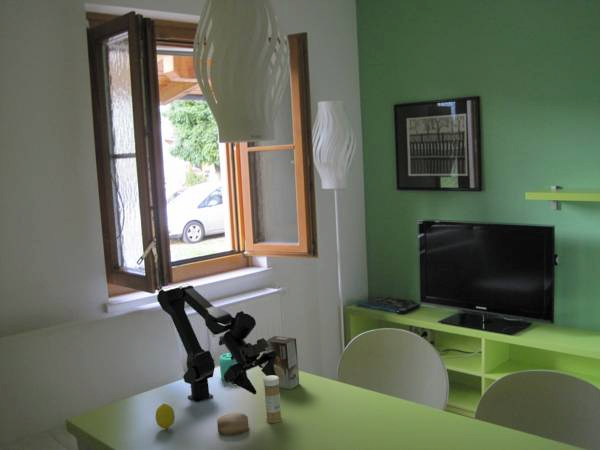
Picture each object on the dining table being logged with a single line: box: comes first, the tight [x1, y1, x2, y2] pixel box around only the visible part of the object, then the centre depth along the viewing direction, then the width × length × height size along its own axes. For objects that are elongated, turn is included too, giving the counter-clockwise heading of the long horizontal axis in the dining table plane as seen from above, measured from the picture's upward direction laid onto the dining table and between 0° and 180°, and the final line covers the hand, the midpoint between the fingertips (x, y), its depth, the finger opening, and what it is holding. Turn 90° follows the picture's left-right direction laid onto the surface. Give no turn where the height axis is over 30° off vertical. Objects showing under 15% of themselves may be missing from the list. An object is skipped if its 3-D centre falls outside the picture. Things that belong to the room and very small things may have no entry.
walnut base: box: [216, 412, 249, 437], centre depth 197 cm, size 9×9×3 cm
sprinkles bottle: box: [262, 375, 282, 424], centre depth 200 cm, size 5×5×14 cm
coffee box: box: [265, 335, 300, 390], centre depth 229 cm, size 9×6×16 cm
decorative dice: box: [219, 352, 237, 382], centre depth 240 cm, size 8×8×8 cm
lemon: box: [155, 403, 176, 430], centre depth 200 cm, size 6×6×8 cm
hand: (266, 388), depth 202 cm, fingers open, 9 cm apart
